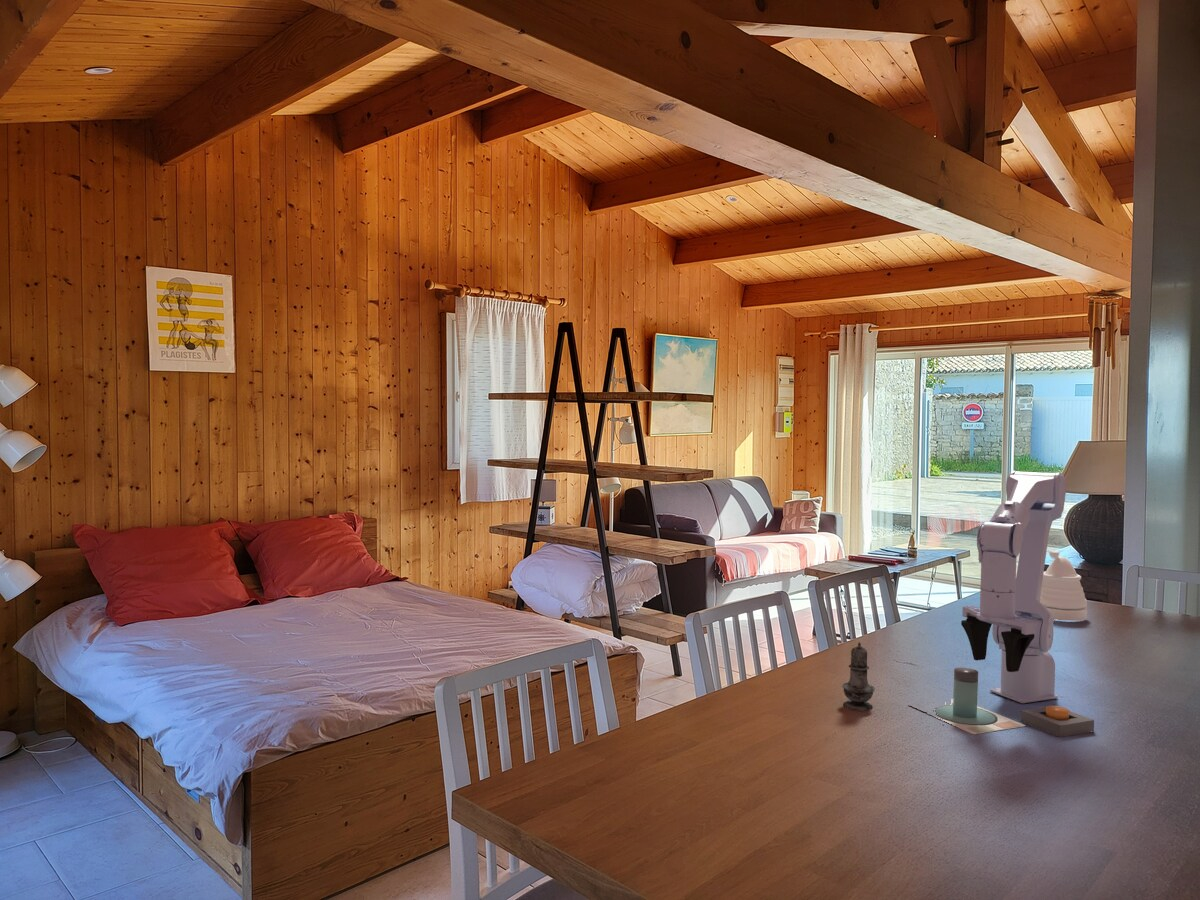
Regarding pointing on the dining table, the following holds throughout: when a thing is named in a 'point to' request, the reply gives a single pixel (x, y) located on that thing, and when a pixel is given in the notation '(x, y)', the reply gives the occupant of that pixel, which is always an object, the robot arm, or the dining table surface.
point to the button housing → (1057, 722)
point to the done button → (1057, 712)
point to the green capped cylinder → (965, 692)
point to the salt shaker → (858, 681)
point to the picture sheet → (976, 720)
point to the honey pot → (1063, 590)
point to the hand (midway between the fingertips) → (995, 665)
